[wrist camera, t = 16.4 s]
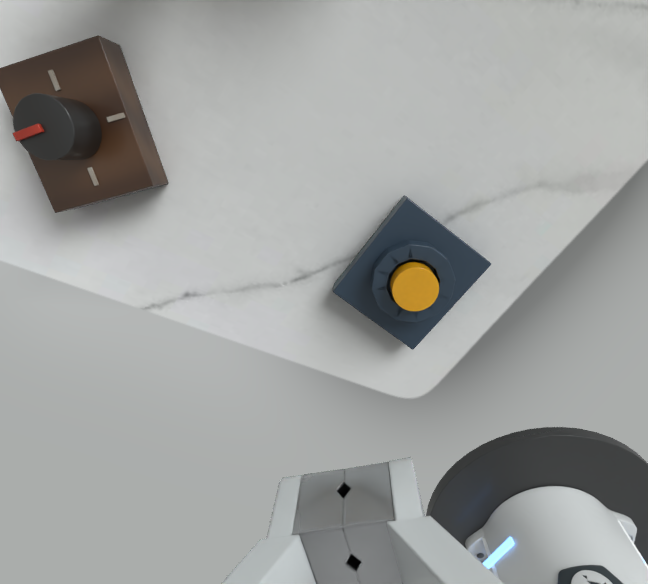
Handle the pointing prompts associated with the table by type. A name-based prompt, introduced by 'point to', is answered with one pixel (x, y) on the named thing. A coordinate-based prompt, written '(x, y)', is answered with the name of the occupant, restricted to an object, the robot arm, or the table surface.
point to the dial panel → (112, 112)
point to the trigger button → (414, 286)
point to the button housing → (400, 248)
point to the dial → (56, 127)
